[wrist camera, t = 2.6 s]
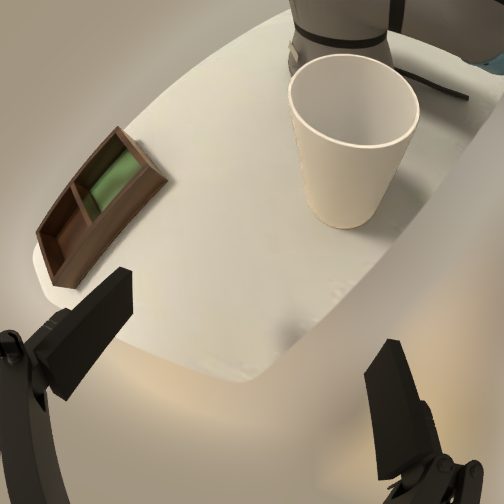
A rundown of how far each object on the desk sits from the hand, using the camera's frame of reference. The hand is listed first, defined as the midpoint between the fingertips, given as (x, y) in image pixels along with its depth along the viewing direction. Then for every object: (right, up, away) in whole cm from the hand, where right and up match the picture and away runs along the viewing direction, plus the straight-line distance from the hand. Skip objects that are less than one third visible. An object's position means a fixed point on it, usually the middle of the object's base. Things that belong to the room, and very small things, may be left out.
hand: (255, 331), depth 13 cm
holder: (-23, +10, +24) cm, 34 cm away
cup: (+10, +10, +16) cm, 21 cm away
